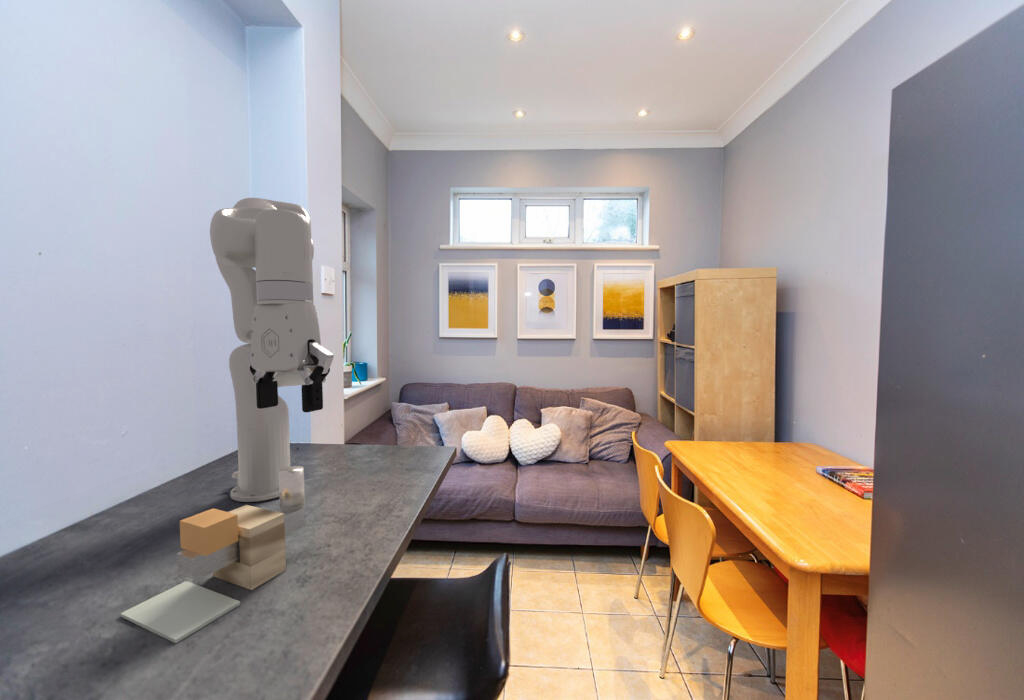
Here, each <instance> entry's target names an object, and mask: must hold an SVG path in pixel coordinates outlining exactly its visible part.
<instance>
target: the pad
mask: <svg viewBox="0 0 1024 700" xmlns="http://www.w3.org/2000/svg"><path fill="white" fill-rule="evenodd" d="M240 605H241V601H240V600H237V599H235V598H232V597H230V596H227V595H224V594H221V593H219V592H216V591H214V590H212V589H208V588H206V587H203V586H200V585H197V584H195V583H194V582H193V583H191V582H189V581H186V580H184V581H183V582H182V583H180V584H177V585H175V586H173V587H171V588H169V589H167V590H164V591H163V592H161V593H158V594H157V595H154V596H153V597H151V598H149V599H147V600H145V601H143V602H140V603H138V604H137V605H134V606H132V607H130V608H129V609H126V610H124V611H123V612H120V617H121V618H123V619H125V620H127V621H129V622H131V623H133V624H135V625H137V626H139V627H141V628H143V629H145V630H147V631H149V632H151V633H153V634H155V635H157V636H160V637H161V638H163V639H166V640H168V641H170V642H172V643H174V644H177V643H180V642H181V641H182V640H184V639H186V638H188V637H189V636H191V635H192V634H194V633H196V632H197V631H199V630H200V629H203V628H204V627H205V626H207V625H209V624H210V623H212V622H214V621H215V620H217V619H219V618H221V617H222V616H224V615H225V614H227V613H229V612H231V611H232V610H234V609H235V608H237V607H238V606H239V607H240Z"/></svg>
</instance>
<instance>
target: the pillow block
mask: <svg viewBox="0 0 1024 700" xmlns="http://www.w3.org/2000/svg"><path fill="white" fill-rule="evenodd" d="M275 511H276V510H270V509H266V508H263V507H262V508H261V507H256V506H252V505H248V504H245V505H242V506H240V507H236V508H235V509H232V510H229V511H228V512H230V513H233V514H237V516H238V535H239V545H240V559H239V560H237V561H235V562H233V563H231V564H229V565H227V566H225V567H223V568H221V569H219V570H217V571H215V572H213V573H212V577H214V578H216V579H219V580H222V581H225V582H229V583H231V584H232V585H237V586H239V587H242V588H245V589H247V590H251V591H253V590H255V589H256V588H258V587H259V586H261V585H263V584H264V583H266V582H268V581H270V580H271V579H273V578H275V577H277V576H278V575H280V574H282V573H283V572H285V571H286V570H287V563H286V560H287V559H286V558H287V557H286V536H285V526H284V514H283V513H279V512H275Z"/></svg>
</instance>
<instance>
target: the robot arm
mask: <svg viewBox="0 0 1024 700" xmlns="http://www.w3.org/2000/svg"><path fill="white" fill-rule="evenodd" d="M209 238H210V239H209V240H210V244H211V248H212V251H213V254H214V257H215V261H216V265H217V267H218V269H219V272H220V274H221V276H222V278H223V279H224V282H225V283H226V285H227V288H228V289H229V291H230V299H231V301H230V302H231V309H232V319H233V327H234V332H235V335H236V337H237V338H238V340H239V341H240V342H242V343H244V344H242V345H239V346H237V347H236V348H234V349H233V350H232V351H231V353H230V354H229V360H228V361H229V362H228V367H229V373H230V376H231V380H232V387H233V392H234V401H235V412H236V414H235V416H236V419H235V420H236V433H237V437H236V438H237V459H238V460H237V463H238V470H236V471H234V472H232V474H231V477H232V478H233V479H236V480H237V485H236V486H234V487H233V488H232V489H231V490H230V494H229V496H230V499H231V500H233V501H235V502H240V503H253V502H263V501H264V502H265V501H270V500H273V499H277V498H279V470H281V469H283V468H286V467H291V445H290V443H291V442H290V415H289V414H290V413H289V407H288V404H287V402H286V401H285V400H284V399H283V398H282V397H281V396H280V395H279V389H278V388H282V387H292V386H293V387H294V386H295V387H296V386H301V411H302V412H303V413H310V412H317V411H321V410H323V408H324V397H323V396H324V395H323V394H324V393H323V391H324V390H323V384H324V383H326V380H327V379H326V377H327V376H328V375H329V374H330V372H331V368H330V367H331V366H332V363H333V361H334V356H335V355H334V354H333V352H330V351H329V350H328V349H326V348H325V347H323V346H322V344H321V343H322V342H321V332H320V325H319V318H318V313H317V309H316V305H315V304H314V303H315V302H314V277H313V276H314V275H313V274H314V273H313V260H314V253H315V252H314V251H315V249H314V248H315V247H314V242H313V239H312V222H311V218H310V214H309V213H308V212H307V210H306V209H305V208H304V207H302V206H301V205H299V204H297V203H291V202H285V201H278V200H272V199H266V198H262V197H260V198H259V197H245V198H243V199H240V200H238V201H237V202H236V203H235V204H234V206H233V207H229V208H221V209H217V211H215V213H214V214H213V216H212V217H211V221H210V227H209ZM254 268H255V269H254Z"/></svg>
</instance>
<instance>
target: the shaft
mask: <svg viewBox="0 0 1024 700" xmlns="http://www.w3.org/2000/svg"><path fill="white" fill-rule="evenodd" d="M304 469H305V468H304V466H301V465H293V466H291V465H290V467H286V468H283V469H281V470H279V497H278V499H279V509H276V510H274V511H275V512H279V513H283V514H284V526H285V537H287V536H289V535H291V534H292V533H294V532H296V531H298V530H300V529H303V528H304V527H306V526H307V525H306V501H305V473H304V472H305V471H304ZM239 559H240V545H239V535H238V541H237V542H235V543H233V544H231V545H229V546H226V547H224V548H222V549H220V550H218V551H216V552H213V553H211V554H209V555H207V556H204V555H201V554H198V553H195V552H191V551H188V550H185V549H183V550H181V551H178V552H177V553H176V569H177V572H176V573H177V578H178V579H181V580H183V581H188V582H190V583H193V584H194V583H195V582H197V581H200V580H201V579H204V578H205V577H207V576H209V575H211V574H213V572H215V571H217V570H219V569H221V568H223V567H225V566H227V565H229V564H231V563H233V562H235V561H237V560H239Z"/></svg>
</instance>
